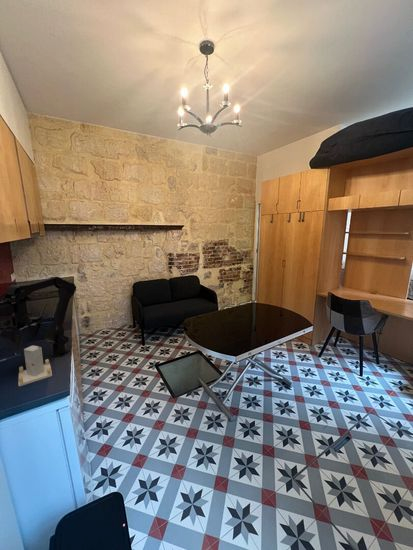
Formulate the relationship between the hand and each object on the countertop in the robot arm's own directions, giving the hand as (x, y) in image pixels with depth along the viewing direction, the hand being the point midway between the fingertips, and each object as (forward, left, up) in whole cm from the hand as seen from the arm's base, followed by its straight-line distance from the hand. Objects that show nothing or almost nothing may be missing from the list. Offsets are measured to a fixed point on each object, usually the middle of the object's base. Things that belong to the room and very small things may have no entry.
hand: (26, 343), depth 111 cm
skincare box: (+5, +7, -12) cm, 15 cm away
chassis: (+5, +7, -13) cm, 15 cm away
